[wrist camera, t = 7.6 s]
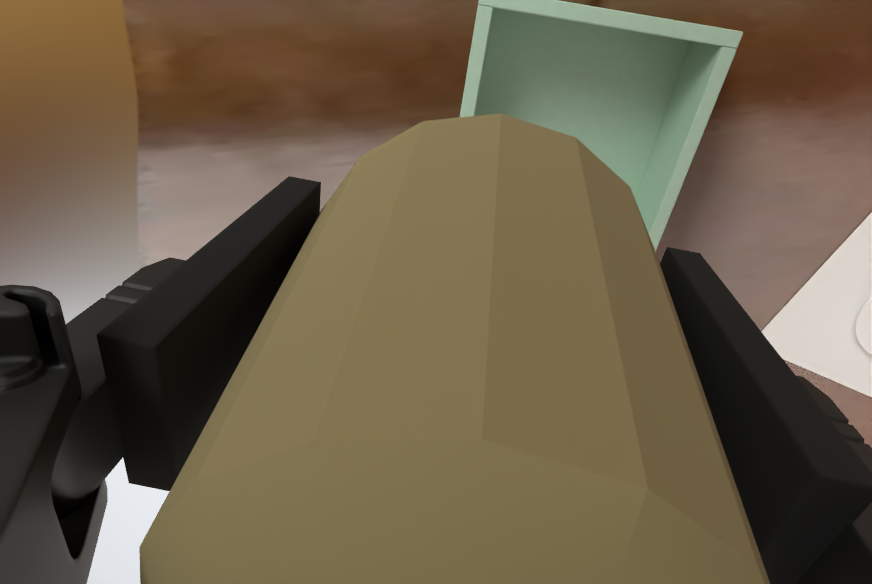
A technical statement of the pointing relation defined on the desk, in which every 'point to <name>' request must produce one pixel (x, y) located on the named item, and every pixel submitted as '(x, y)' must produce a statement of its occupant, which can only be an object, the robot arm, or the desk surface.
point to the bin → (604, 86)
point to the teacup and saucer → (832, 317)
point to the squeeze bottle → (463, 391)
